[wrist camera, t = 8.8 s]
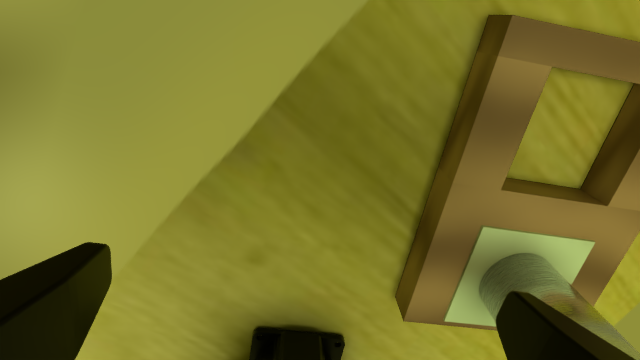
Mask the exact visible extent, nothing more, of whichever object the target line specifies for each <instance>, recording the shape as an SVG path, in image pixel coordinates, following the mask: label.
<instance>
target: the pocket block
mask: <svg viewBox="0 0 640 360" xmlns="http://www.w3.org/2000/svg"><path fill="white" fill-rule="evenodd" d="M552 67H556V68H561V69H566V70H571V71H576V72H581V73H587V74H592V75H597V76H602V77H607V78H612V79H617V80H622V81H627V82H632V83H635V84H634V86H633V88H632V90H631V92H630V94H629V96H628V98H627V100H626V101H625V103H624V105H623V107H622V109H621V111H620V113H619V115H618V117H617V119H616V121H615V123H614V125H613V127H612V129H611V131H610V133H609V135H608V137H607V139H606V140H605V142H604V144H603V146H602V148H601V150H600V152H599V154H598V156H597V158H596V160H595V162H594V164H593V166H592V168H591V170H590V172H589V174H588V176H587V178H586V180H585V181H584V183H583V185H582V187H581V189H576V188H569V187H563V186H557V185H550V184H544V183H537V182H531V181H524V180H518V179H511V178H506V176H507V174H508V171H509V169H510V167H511V164H512V162H513V160H514V157H515V155H516V152H517V150H518V148H519V145H520V143H521V140H522V138H523V136H524V133H525V131H526V128H527V126H528V124H529V121H530V119H531V116H532V114H533V112H534V109H535V107H536V104H537V102H538V100H539V97H540V95H541V92H542V90H543V88H544V85H545V83H546V80H547V78H548V76H549V73H550V71H551V68H552ZM639 231H640V42H637V41H632V40H627V39H623V38H618V37H613V36H609V35H604V34H599V33H595V32H590V31H585V30H580V29H576V28H571V27H566V26H562V25H557V24H552V23H548V22H543V21H538V20H533V19H529V18H524V17H519V16H515V15H489V17H488V20H487V23H486V26H485V29H484V32H483V35H482V38H481V41H480V44H479V47H478V50H477V53H476V56H475V59H474V62H473V65H472V68H471V71H470V74H469V77H468V80H467V83H466V86H465V89H464V92H463V95H462V98H461V101H460V104H459V107H458V110H457V113H456V116H455V119H454V122H453V125H452V128H451V131H450V134H449V137H448V140H447V143H446V146H445V149H444V152H443V155H442V158H441V161H440V164H439V167H438V170H437V173H436V176H435V179H434V182H433V185H432V188H431V191H430V194H429V197H428V200H427V203H426V206H425V209H424V212H423V215H422V218H421V221H420V224H419V227H418V230H417V233H416V236H415V239H414V242H413V245H412V248H411V251H410V254H409V257H408V260H407V263H406V266H405V269H404V272H403V275H402V278H401V281H400V284H399V287H398V290H397V293H396V296H395V298H396V301H397V303H398V306H399V309H400V312H401V315H402V318H403V321H407V322H417V323H427V324H437V325H447V326H458V327H468V328H478V329H488V330H497V328H496V323H495V321H494V320H493V318H492V316H491V315H490V313H489V311H488V310H487V308H486V307H485V305H484V303H483V302H482V300H481V298H480V295H479V285H480V282H481V279H482V277H483V275H484V274H485V273H486V271H487V270H488V269H489V268H490V267H491V266H492V265H493V264H495V263H496V262H497V261H499V260H501V259H503V258H505V257H507V256H510V255H514V254H519V253H531V254H536V255H539V256H541V257H543V258H545V259H546V260H547V261H548V262H549V263H550V264H551V265H552V266H553V267H554V268H555V269H556V270H557V271H558V272H559V273H560V274H561V275H562V276H563V277H564V278H565V279H566V280H567V281H568V282H569V283H570V284H571V285H572V286H573V287H574V288H575V289H576V290H577V291H578V292H579V293H580V294H581V295H582V296H583V297H584V298H585V299H586V300H587V301H588V302H589V303H590V304H591V305H592V306H594V304H595V303H596V301H597V299H598V298H599V296H600V295H601V293H602V291H603V290H604V288H605V286H606V285H607V283H608V282H609V280H610V278H611V277H612V275H613V273H614V272H615V270H616V269H617V267H618V265H619V264H620V262H621V260H622V259H623V257H624V256H625V254H626V252H627V251H628V249H629V247H630V246H631V244H632V242H633V241H634V239H635V238H636V236H637V234H638V233H639Z"/></svg>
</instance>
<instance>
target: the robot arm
mask: <svg viewBox="0 0 640 360" xmlns="http://www.w3.org/2000/svg"><path fill="white" fill-rule="evenodd" d="M111 279H112V270H111V252H110V248H109V246H108V245H106V244H100V243H92V242H87V243H84V244H81V245H79V246H77V247H74V248H72V249H70V250H68V251H65V252H63V253H61V254H58V255H56V256H54V257H52V258H49V259H47V260H45V261H42V262H40V263H38V264H35V265H34V266H31V267H29V268H26V269H24V270H22V271H19V272H17V273H15V274H13V275H10V276H8V277H6V278H3V279H1V280H0V360H75V358H76V357H77V355H78V353H79V351H80V349H81V347H82V345H83V343H84V340H85V338H86V336H87V334H88V332H89V330H90V328H91V326H92V323H93V321H94V319H95V317H96V315H97V313H98V311H99V309H100V306H101V304H102V302H103V300H104V298H105V296H106V294H107V292H108V289H109V287H110V284H111ZM496 328H497V331H498V334H499V337H500V339H501V342H502V345H503V348H504V351H505V354H506V357H507V360H636V359H634V358H633V357H631V356H629V355H628V354H626V353H625V352H623V351H621V350H620V349H618V348H617V347H615V346H613V345H612V344H610V343H609V342H607V341H605V340H604V339H602V338H601V337H599V336H597V335H596V334H594V333H593V332H591V331H589V330H588V329H586V328H585V327H583V326H581V325H580V324H578V323H577V322H575V321H574V320H572V319H570V318H569V317H567V316H566V315H564V314H562V313H561V312H559V311H558V310H556V309H554V308H553V307H551V306H550V305H548V304H546V303H545V302H543V301H542V300H540V299H538V298H537V297H535V296H534V295H532V294H530V293H528V292H522V291H510V292H509V293H508V294H507V295H506V297H505V299H504V301H503V303H502V305H501V307H500V310H499V312H498V314H497V316H496ZM259 335H262V336H259ZM336 342H339V343H336ZM344 346H345V342H344V338H343V337H342V336H341V335H333V334H322V333H312V332H301V331H290V330H279V329H269V328H257V329H255V330H254V332H253V338H252V345H251V352H250V359H249V360H341V356H342V353H343V349H344Z"/></svg>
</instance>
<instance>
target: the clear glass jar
mask: <svg viewBox="0 0 640 360" xmlns="http://www.w3.org/2000/svg"><path fill="white" fill-rule="evenodd" d="M510 291H522V292H528V293H530V294H532V295H534V296H535V297H537V298H538V299H540V300H542V301H543V302H545V303H546V304H548V305H550V306H551V307H553V308H554V309H556V310H558V311H559V312H561V313H562V314H564V315H566V316H567V317H569V318H570V319H572V320H574V321H575V322H577V323H578V324H580V325H581V326H583V327H585V328H586V329H588V330H589V331H591V332H593V333H594V334H596V335H597V336H599V337H601V338H602V339H604V340H605V341H607V342H609V343H610V344H612V345H613V346H615V347H617V348H618V349H620V350H621V351H623V352H625V353H626V354H628V355H629V356H631V357H633V358H634V359H636V360H640V354H639V353H638V352H637V351H636V350H635V349H634V348H633V347H632V346H631V345H630V344H629V343H628V342H627V341H626V340H625V339H624V337H622V336H621V334H620V333H619V332H617V330H615V328H614V327H613V326H612V325H611V324H610V323H609V322H608V321H607V320H606V319H605V318H604V317H603V316H602V315H601V314H600V313H599V312H598V311H597V310H596V309H595V308H594V307H593V306H592V305H591V304H590V303H589V302H588V301H587V300H586V299H585V298H584V297H583V296H582V295H581V294H580V293H579V292H578V291H577V290H576V289H575V288H574V287H573V286H572V285H571V284H570V283H569V282H568V281H567V280H566V279H565V278H564V277H563V276H562V275H561V274H560V273H559V272H558V271H557V270H556V269H555V268H554V267H553V266H552V265H551V264H550V263H549V262H548V261H547V260H546V259H545V258H543V257H541V256H539V255H536V254H531V253H519V254H514V255H510V256H507V257H505V258H503V259H501V260H499V261H497V262H496V263H495V264H493V265H492V266H491V267H490V268H489V269H488V270H487V271H486V273H485V274H484V275H483V277H482V279H481V282H480V285H479V295H480V298H481V300H482V302H483V303H484V305H485V307H486V308H487V310H488V311H489V313H490V315H491V316H492V318H493V320H494V321H495V323H496V316H497V314H498V312H499V310H500V307H501V305H502V303H503V301H504V299H505V297H506V295H507V294H508V293H509V292H510Z"/></svg>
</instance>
